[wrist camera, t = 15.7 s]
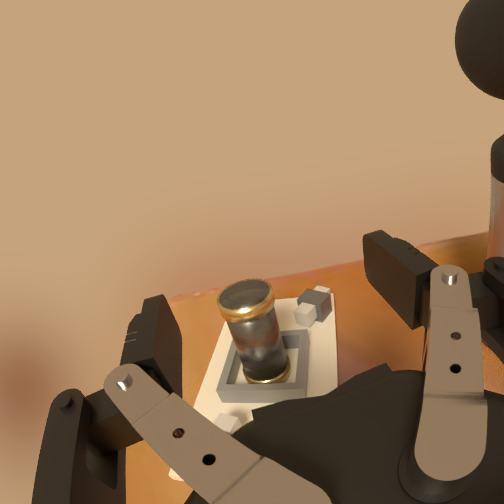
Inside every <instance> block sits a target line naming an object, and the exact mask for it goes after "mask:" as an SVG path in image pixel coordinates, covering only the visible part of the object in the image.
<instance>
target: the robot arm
mask: <svg viewBox="0 0 504 504" xmlns="http://www.w3.org/2000/svg"><path fill="white" fill-rule="evenodd" d="M455 48H456V54H457V58H458V61H459V64H460V66H461V68H462V70H463V72H464V73H465V75H466V76H467V77H468V78H469V80H470V81H471V82H472V83H473V84H474V85H475V86H476V87H478V88H479V89H480V90H482V91H483V92H485V93H487V94H489V95H491V96H493V97H496V98H499V99H502V100H504V0H469V2H468V3H467V4H466V5H465V7H464V9H463V10H462V12H461V14H460V16H459V19H458V22H457V26H456V33H455ZM363 253H364V267H365V273H366V277H367V279H368V281H369V283H370V284H371V285H372V286H373V287H374V288H375V289H376V290H377V291H378V292H379V294H380V295H381V296H382V297H383V298H384V299H385V300H386V301H387V302H388V303H389V305H390V306H391V307H392V308H393V309H394V310H395V311H396V312H397V314H398V315H399V316H400V317H401V318H402V319H403V320H404V321H405V323H406V324H407V325H408V326H409V327H410V328H411V329H412V330H414V329H416V328H418V327H420V326H422V325H423V326H424V327H425V332H424V342H423V352H422V360H421V368H420V371H417V370H398V371H391V369H390V368H389V366H388V365H387V363H385V364H382V365H380V366H378V367H375V368H373V369H370V370H368V371H366V372H363V373H361V374H358V375H356V376H354V377H353V378H351V379H350V380H348V381H346V382H345V383H343V384H342V385H340V386H339V387H337V388H336V389H334V390H332V391H331V392H329V393H327V394H325V395H322V396H315V397H307V398H299V399H289V400H284V401H281V402H277V403H274V404H270V405H267V406H263V407H260V408H256V409H252V410H251V411H252V416H253V420H252V421H250V422H248V423H246V424H245V425H243V426H242V427H240V428H239V429H238V430H236V431H235V432H234V433H233V434H232V435H231V436H230V435H229V434H227V433H226V432H224V431H223V430H222V429H220V428H219V427H218V426H216V425H215V424H214V423H212V422H211V421H210V420H208V419H207V418H206V417H204V416H203V415H202V414H200V413H199V412H198V411H197V410H195V409H194V408H193V407H192V406H190V405H189V404H188V403H187V402H185V401H184V400H183V399H182V336H181V332H180V329H179V326H178V324H177V322H176V320H175V317H174V315H173V313H172V311H171V309H170V307H169V304H168V302H167V300H166V298H165V296H164V295H163V294H161V295H158V296H155V297H151V298H147V299H145V300H144V303H143V307H142V312H141V314H137V315H135V316H134V318H133V319H132V321H131V322H130V323H129V326H128V330H127V335H126V339H125V342H126V343H124V348H123V352H122V357H121V362H120V366H119V367H117V368H115V369H114V370H112V371H111V372H110V373H109V374H108V376H107V377H106V379H105V381H104V389H102V390H100V391H97V392H95V393H93V394H91V395H88V396H86V397H85V396H84V395H83V394H82V393H81V391H79V390H77V389H68V390H65V391H63V392H61V393H60V394H59V395H58V396H57V397H56V398H55V399H54V400H53V402H52V404H51V407H50V411H49V414H48V418H47V423H46V427H45V431H44V435H43V440H42V445H41V449H40V454H39V460H38V466H37V471H36V476H35V483H34V489H33V497H32V504H126V479H125V462H126V447H128V446H130V445H132V444H135V443H137V442H139V441H142V440H145V441H146V442H147V443H148V444H149V445H150V447H151V448H152V449H153V450H154V451H155V452H156V453H157V454H158V455H159V456H160V457H161V458H162V459H163V460H164V461H165V462H166V463H167V464H168V465H169V466H170V467H171V468H172V469H173V470H174V471H175V472H176V473H177V474H178V475H179V476H180V477H181V478H182V479H183V480H184V481H185V482H186V483H187V484H188V485H189V486H190V487H191V488H192V489H193V491H192V493H191V494H190V496H189V497H188V499H187V500H186V502H185V503H184V504H504V395H502V394H498V393H494V392H491V391H487V390H484V379H483V355H482V341H483V342H484V343H485V344H486V345H487V346H489V348H490V349H491V350H492V351H493V352H494V353H495V354H496V356H497V357H498V358H499V359H500V360H501V361H502V363H503V364H504V134H503V135H502V136H501V137H499V138H498V139H497V140H496V141H495V142H494V143H493V145H492V147H491V208H490V225H489V238H488V248H487V257H486V261H485V263H484V268H483V272H478V273H472V274H467V272H466V271H465V270H464V269H462V268H461V267H458V266H455V265H441V266H439V265H438V264H437V263H435V262H434V261H433V260H431V259H430V258H429V257H427V256H426V255H425V254H423V253H420V251H419V250H418V249H416V248H414V246H412V245H411V244H410V243H408V242H406V241H404V240H401V239H398V238H392V237H391V236H390V235H388V234H387V233H385V232H384V231H382V230H378V231H374V232H371V233H368V234H365V235H364V236H363ZM481 340H482V341H481ZM86 450H87V451H86Z"/></svg>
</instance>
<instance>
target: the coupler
mask: <svg viewBox="0 0 504 504" xmlns="http://www.w3.org/2000/svg"><path fill="white" fill-rule="evenodd" d="M217 304H218V306H219V309H220V312H221V315H222V317H223V318H224V319H225V320H226V322H227V325H228V327H229V330H230V333H231V336H232V338H233V341H234V344H235V347H236V349H237V352H238V355H239V357H240V360H241V363H242V365H243V374H244V376H245V379H246V381H247V383H248V384H272V383H285V382H286V381H287V380H288V378H289V377H290V375H291V365H290V361H289V357H288V356H287V354H286V353H285V349H284V345H283V340H282V336H281V332H280V328H279V324H278V320H277V316H276V312H275V308H274V304H275V298H274V294H273V290H272V286H271V285H270V283H268V282H267V281H265V280H262V279H246V280H242V281H238V282H236V283H233V284H231V285H229V286H228V287H226V288H225V289H224V290H222V292H221V293H220V294H219V296H218V298H217Z"/></svg>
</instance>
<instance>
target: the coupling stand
mask: <svg viewBox="0 0 504 504" xmlns="http://www.w3.org/2000/svg"><path fill="white" fill-rule="evenodd" d="M274 308H275V312H276V316H277V320H278V324H279V328H280V332H281V336H282V340H283V345H284V349H285V353H286V354H287V356H288V357H289V361H290V365H291V375H290V377H289V378H288V380H287V381H286V382H285V383H272V384H248V383H247V381H246V379H245V376H244V374H243V365H242V363H241V360H240V357H239V355H238V352H237V349H236V347H235V344H234V341H233V338H232V336H231V333H230V330H229V327H228V325H227V322H226V321H225V324H224V326H223V329H222V332H221V334H220V337H219V340H218V342H217V345H216V348H215V351H214V353H213V356H212V359H211V361H210V364H209V367H208V369H207V372H206V375H205V377H204V380H203V383H202V386H201V388H200V391H199V394H198V396H197V399H196V402H195V404H194V407H193V408H194V409H195V410H197V411H198V412H199V413H200V414H202V415H203V416H204V417H206V418H207V419H208V420H210V421H211V422H212V423H214V424H215V425H216V426H218V427H219V428H220V429H222V430H223V431H224V432H226V433H227V434H229V435H230V436H231V435H232V434H233V433H234V432H235V431H236V430H238V429H239V428H240V427H242V426H243V425H245V424H246V423H248V422H250V421H252V420H253V416H252V411H251V410H252V409H256V408H260V407H263V406H267V405H270V404H274V403H277V402H281V401H284V400H289V399H299V398H307V397H315V396H322V395H325V394H327V393H329V392H331V391H332V390H334V389H336V388H337V387H338V370H337V343H336V323H335V307H334V295H333V293H332V294H331V293H330V288H326V287H321V286H316V288H315V289H314V290H312V289H306V290H305V292H304V293H303V294H302V295H301V296H300V297H298V298H289V299H279V300H275V304H274ZM169 476H170V477H171V478H172V479H174V480H179V481H184V480H183V479H182V478H181V477H180V476H179V475H178V474H177V473H176V472H175V471H174V470H173V469H172V468H171V469H170V472H169Z"/></svg>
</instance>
